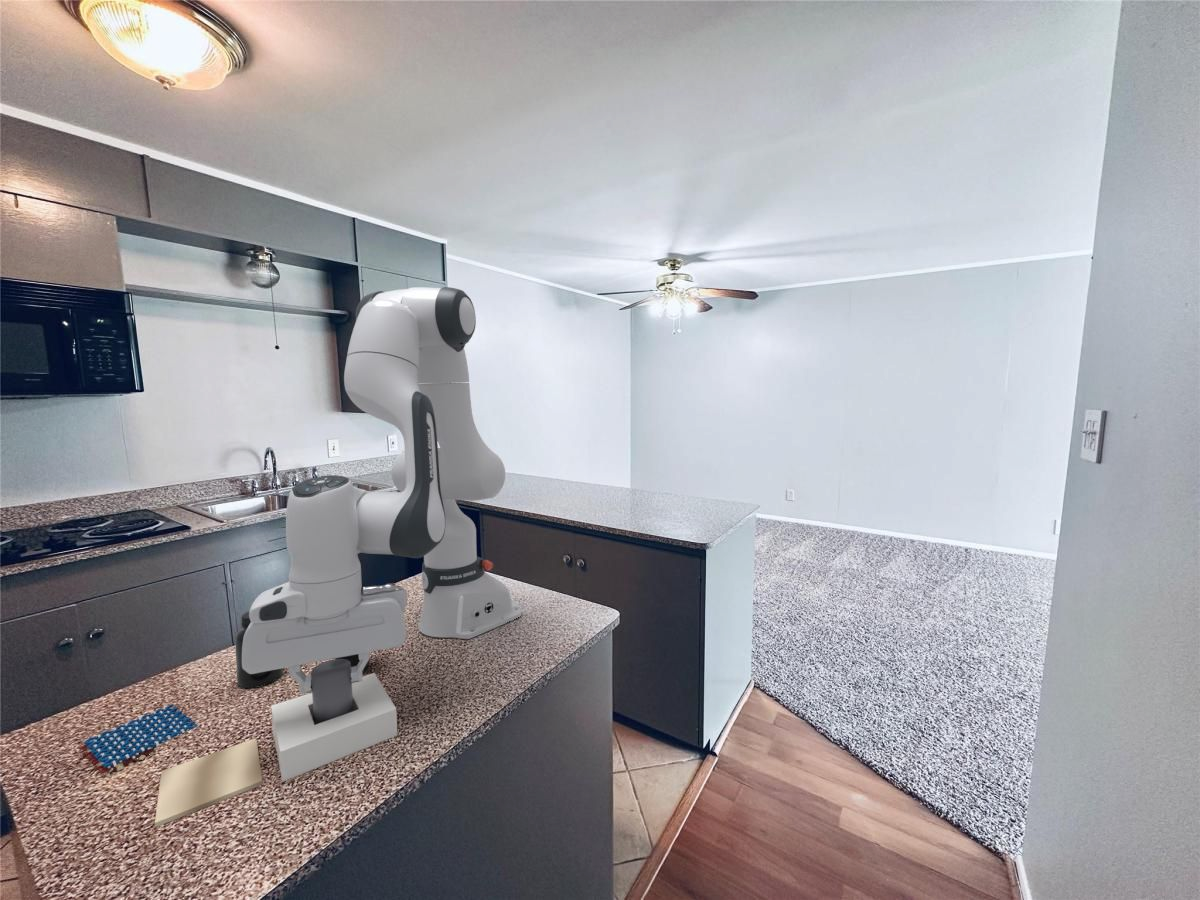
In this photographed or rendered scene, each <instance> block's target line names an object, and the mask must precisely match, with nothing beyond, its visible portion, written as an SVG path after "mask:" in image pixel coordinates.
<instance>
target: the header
mask: <svg viewBox="0 0 1200 900" xmlns="http://www.w3.org/2000/svg"><path fill="white" fill-rule="evenodd" d="M352 696H353V712H350V713H347V714H344V715H341V716H339V717H336V718H333V719H330V720H327V721H325V722H322V723H319V724H316V725H314V715H313V698H312V692H308V693H305V694H302V695H301V696H298V697H294V698H290V699H287V700H283V701H281V702H279V703H275V704H271V706H270V709H271V711H270V712H271V724H272V726H271V727H272V736H273V741H274V746H275V750H276V756H277V762H278V767H279V772H280V776H281V781H282V782H285V781H288V780H290V779H293V778H295V777H298V776H300V775H303V774H306V773H307V772H310V771H312V770H315V769H317V768H320V767H322V766H325V765H327V764H330V763H333V762H335V761H337V760H340V759H343V758H346V757H348V756H350V755H353V754H355V753H356V752H360V751H362V750H364V749H367V748H370V747H372V746H374V745H377V744H379V743H381V742H385V741H387V740H389V739H392V738H394V737H396V736H398V718H397V717H398V716H397V707H396V706H395V704H394V703H393V701H392V699H391V697H390V696H389V694H388V693H387V691H386V690H385V688H384V686H383V684H382V683H381V681H380V680H379V678H378V676H377V674H376V673H375V672H373V673H369V674H367V675H366V674H365V675H363V678H362V681H360V682H356V683H352Z"/></svg>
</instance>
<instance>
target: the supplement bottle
mask: <svg viewBox="0 0 1200 900" xmlns="http://www.w3.org/2000/svg"><path fill="white" fill-rule="evenodd" d="M249 612H250V610H248V611H246V612H244V613H243V614H242V615H241V624H240V626H241V629H240V630H239V631H238V632H237V634H236V636H235V638H234V639H235V640H234V642H235V644H234V645H235V660H236V662H235V664H236V665H235V666H236V679H237V684H238V685H239V686H240V687H242V688H245V687H246V688H245V689H247V688H248V689H249V688H250V689H251V687H254V688H258V687H257V686H260V687H262V686H261V685H263V686H265V685H264V684H266V685H268V683H269V684H271V683H273V682H275V681H277V680H278V679H280V677H281V676H282V675H283V673H284V669H285V668H281V669H276V670H271V671H265V672H260V673H255V674H249V673H247V672H246V671H245V670H244V669H243V668H242V645H243V638H244V634H245V632H246V630H247V628H248V626H249V624H250V623H251V621H250V618H249ZM276 679H277V680H276ZM274 680H275V681H274ZM272 681H273V682H272ZM270 682H271V683H270Z"/></svg>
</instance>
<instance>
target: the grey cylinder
mask: <svg viewBox="0 0 1200 900" xmlns="http://www.w3.org/2000/svg"><path fill="white" fill-rule="evenodd" d="M310 675H311V681H312V692H311V693H312V698H313V715H314V725H316V724H319V723H322V722H325V721H327V720H330V719H333V718H336V717H339V716H341V715H344V714H347V713H350V712H353V696H352V683H351V662H350V661H349V660H346V659H329V660H325V661H322V662H321V663H319V664H317V665H316V666H314V667H313V668H312V669H311V672H310Z"/></svg>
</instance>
